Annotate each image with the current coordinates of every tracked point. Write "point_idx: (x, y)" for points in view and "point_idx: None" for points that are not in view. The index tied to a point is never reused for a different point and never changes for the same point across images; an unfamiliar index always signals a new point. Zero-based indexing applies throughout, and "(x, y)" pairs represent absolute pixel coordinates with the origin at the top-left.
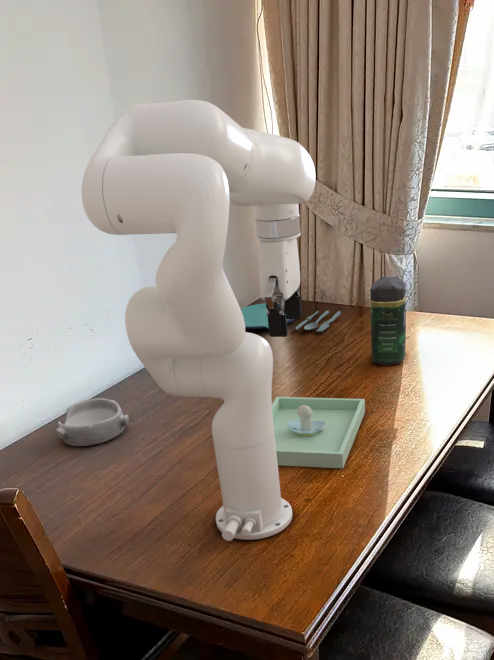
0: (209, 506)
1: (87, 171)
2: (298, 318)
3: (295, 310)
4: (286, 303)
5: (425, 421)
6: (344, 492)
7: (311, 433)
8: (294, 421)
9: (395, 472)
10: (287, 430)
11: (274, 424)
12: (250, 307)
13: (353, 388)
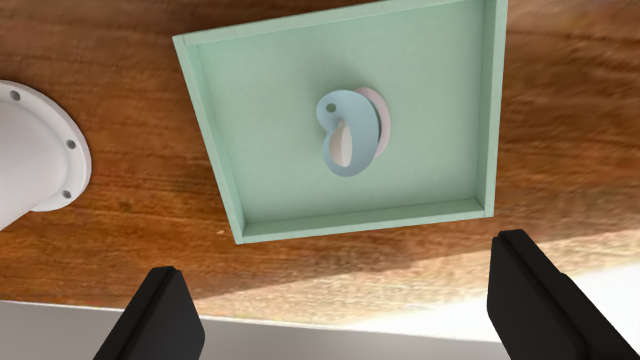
0: (3, 40)
1: None
2: (487, 306)
3: (513, 336)
4: (547, 335)
5: (446, 299)
6: (173, 248)
7: (323, 150)
8: (359, 98)
9: (260, 296)
10: (352, 74)
11: (378, 25)
12: None
13: (623, 138)
